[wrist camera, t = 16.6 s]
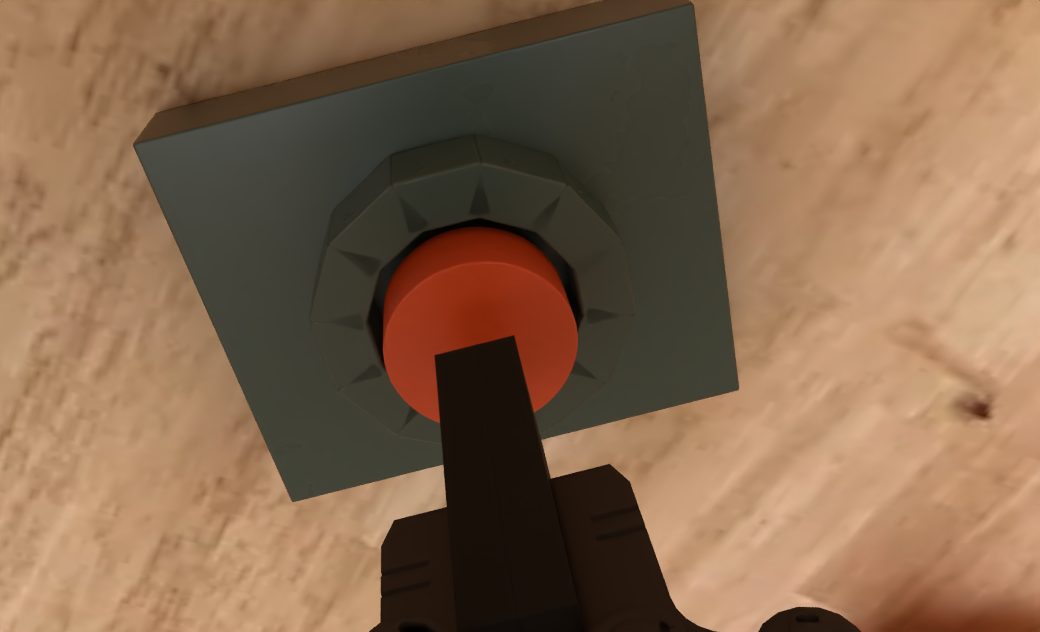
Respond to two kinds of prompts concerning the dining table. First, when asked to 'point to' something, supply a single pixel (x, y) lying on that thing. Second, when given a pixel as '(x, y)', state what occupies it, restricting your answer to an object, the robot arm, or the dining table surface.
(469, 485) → the robot arm
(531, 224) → the button block
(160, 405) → the dining table surface
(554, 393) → the button
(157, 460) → the dining table surface
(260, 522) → the dining table surface
